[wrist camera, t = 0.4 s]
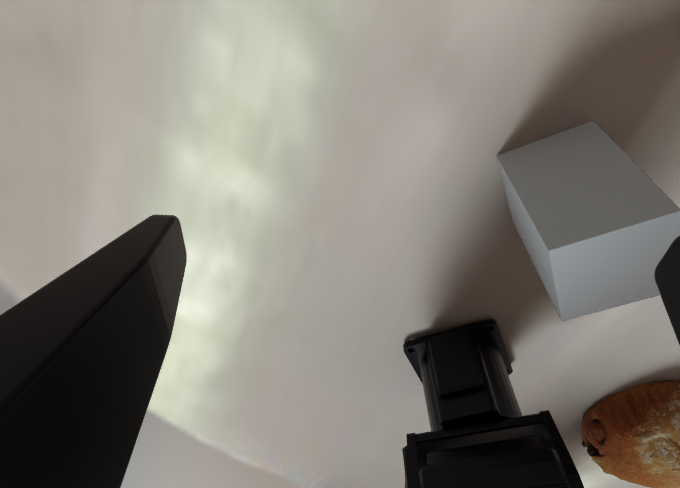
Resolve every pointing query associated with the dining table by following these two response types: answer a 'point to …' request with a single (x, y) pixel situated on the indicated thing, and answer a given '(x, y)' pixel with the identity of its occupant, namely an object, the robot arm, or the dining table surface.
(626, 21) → the dining table surface
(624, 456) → the bread roll
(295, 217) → the dining table surface
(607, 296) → the grey rectangular box
